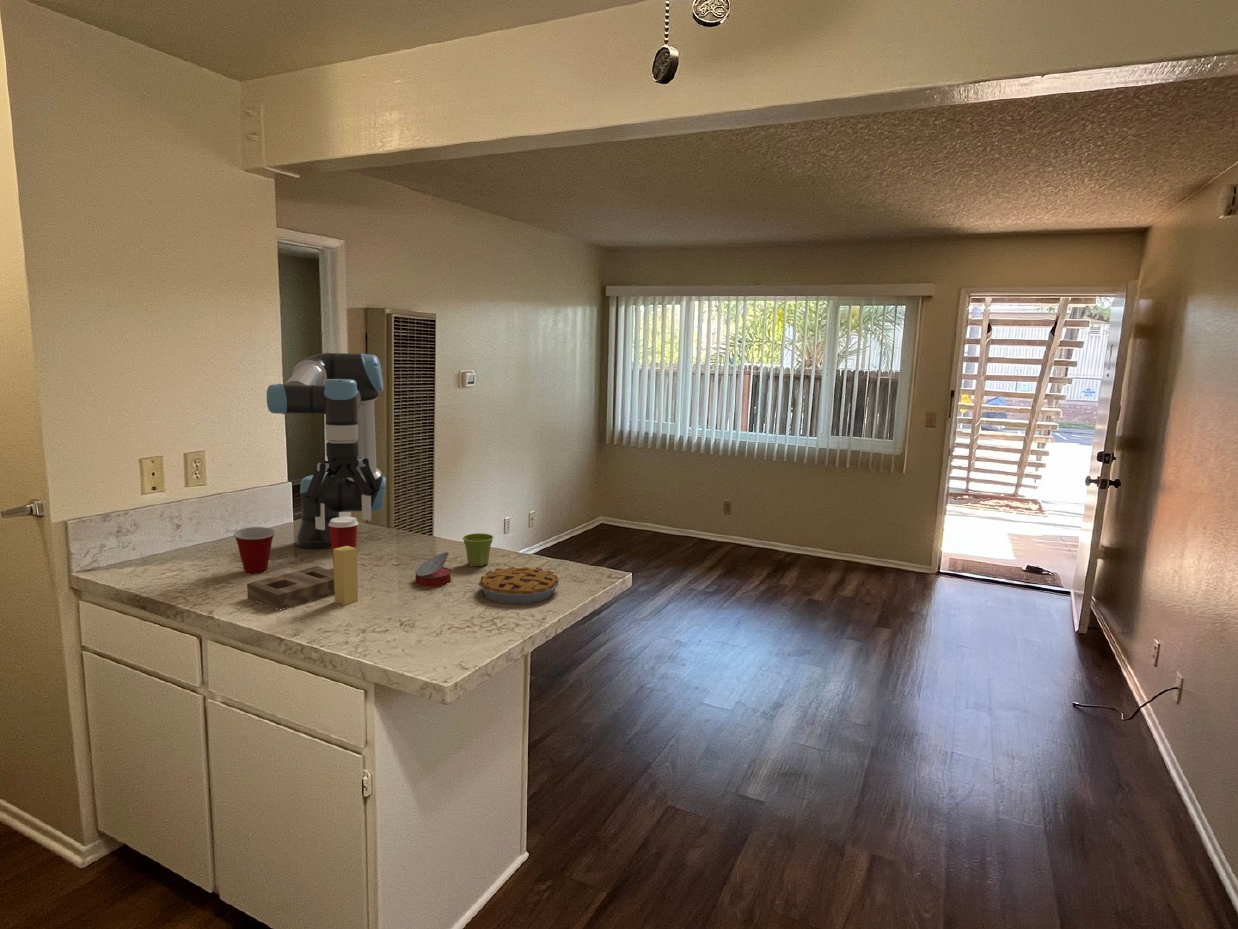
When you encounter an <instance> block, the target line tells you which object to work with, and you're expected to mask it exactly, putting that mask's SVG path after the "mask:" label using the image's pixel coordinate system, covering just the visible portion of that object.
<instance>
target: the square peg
mask: <svg viewBox="0 0 1238 929" xmlns="http://www.w3.org/2000/svg"><path fill="white" fill-rule="evenodd" d="M333 554H334V566H333V571H334V591H335V594H334V603H337V602H338V604H340V605H344V606H345V605H349V604H352V602H353V603H356V602H358V601H359V589H358V588H359V587H358V582H359V581H358V547H356V548H353V547H350V546H344V547H339V548H335V549H333ZM355 601H356V602H355Z"/></svg>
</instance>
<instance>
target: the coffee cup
mask: <svg viewBox="0 0 1238 929" xmlns="http://www.w3.org/2000/svg"><path fill="white" fill-rule="evenodd" d="M328 525H329V526H330V534H331V545H332V547H331V555H332V563H333V565H332V566H333V567H334V554H333V549H335V548H339V547H344V546H350V547H353V548H357V544H358V542H357V541H358V540H357V539H358V525H359V522H358V519H357V518H356V517H353V516H341V517H340V516H339V517H338V518H333V519H331V521H330V523H329V524H328Z"/></svg>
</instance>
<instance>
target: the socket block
mask: <svg viewBox="0 0 1238 929" xmlns="http://www.w3.org/2000/svg"><path fill="white" fill-rule="evenodd" d="M246 584H247V585H246V589H247V590H246V592H247V599H248V598H249V599H248V600H250V599H251V601H253V600H254V602H256V601H258V602H261V603H263V604H262V605H264V604H265V606H267V605H268V606H267V607H269V606H270V608H272V607H274V608H273V609H275V608H277V609H279V610H278V611H281V610H280V609H283V608H286V609H288V608H287V607H289V608H291V607H292V606H293V607H295V605H296V606H298V604H299V605H301V604H302V603H303V604H305V602H306V603H310V602H312V601H316V600H320V599H323V598H326V597H330V596H333V595H335V591H334V570H332V569H329V568H325V567H321V566H319V565H316V566H311V567H308V568H304V569H299V570H296V571H292V572H288V573H282V574H281V575H276V576H272V577H268V578H265V579H264V578H263V579H260V580H256V581H252V582H248V583H246ZM329 595H330V596H329ZM309 601H310V602H309ZM258 602H257V603H258ZM261 603H260V604H261ZM293 607H292V608H293ZM277 609H276V610H277ZM283 610H284V609H283Z"/></svg>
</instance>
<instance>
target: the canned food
mask: <svg viewBox="0 0 1238 929" xmlns="http://www.w3.org/2000/svg"><path fill="white" fill-rule="evenodd" d="M448 556H449V553H448V551H445V552H441V553H439V554H437V555H435V556H434V557H432V558H430V559H428V560H427V561H425V562H424V563H422V564H421V565H419V566H418V568H417V569H416V571H415V584H416V585H417V584H418V586H420V587H423V588H424V587H426V588H436V587H437V588H438V587H443V586H446V585H445V584H447V583H449V584H450V583H451V582H452V570H451V569H450V568H448V567H444V565H445V564H446V562H447V559H448ZM442 585H443V586H442ZM447 585H448V584H447Z"/></svg>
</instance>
